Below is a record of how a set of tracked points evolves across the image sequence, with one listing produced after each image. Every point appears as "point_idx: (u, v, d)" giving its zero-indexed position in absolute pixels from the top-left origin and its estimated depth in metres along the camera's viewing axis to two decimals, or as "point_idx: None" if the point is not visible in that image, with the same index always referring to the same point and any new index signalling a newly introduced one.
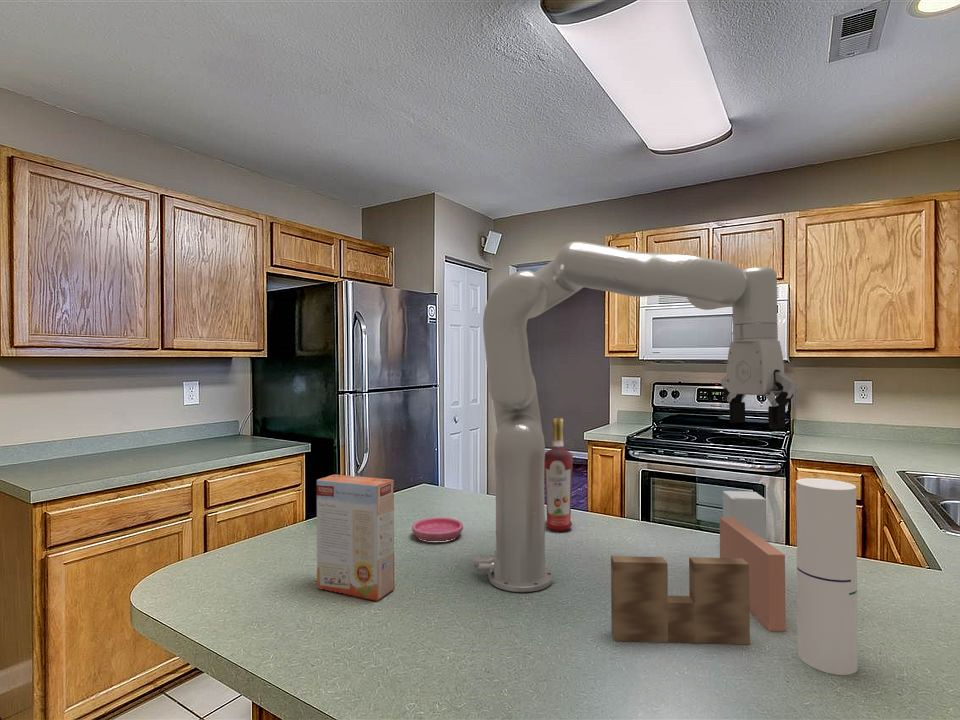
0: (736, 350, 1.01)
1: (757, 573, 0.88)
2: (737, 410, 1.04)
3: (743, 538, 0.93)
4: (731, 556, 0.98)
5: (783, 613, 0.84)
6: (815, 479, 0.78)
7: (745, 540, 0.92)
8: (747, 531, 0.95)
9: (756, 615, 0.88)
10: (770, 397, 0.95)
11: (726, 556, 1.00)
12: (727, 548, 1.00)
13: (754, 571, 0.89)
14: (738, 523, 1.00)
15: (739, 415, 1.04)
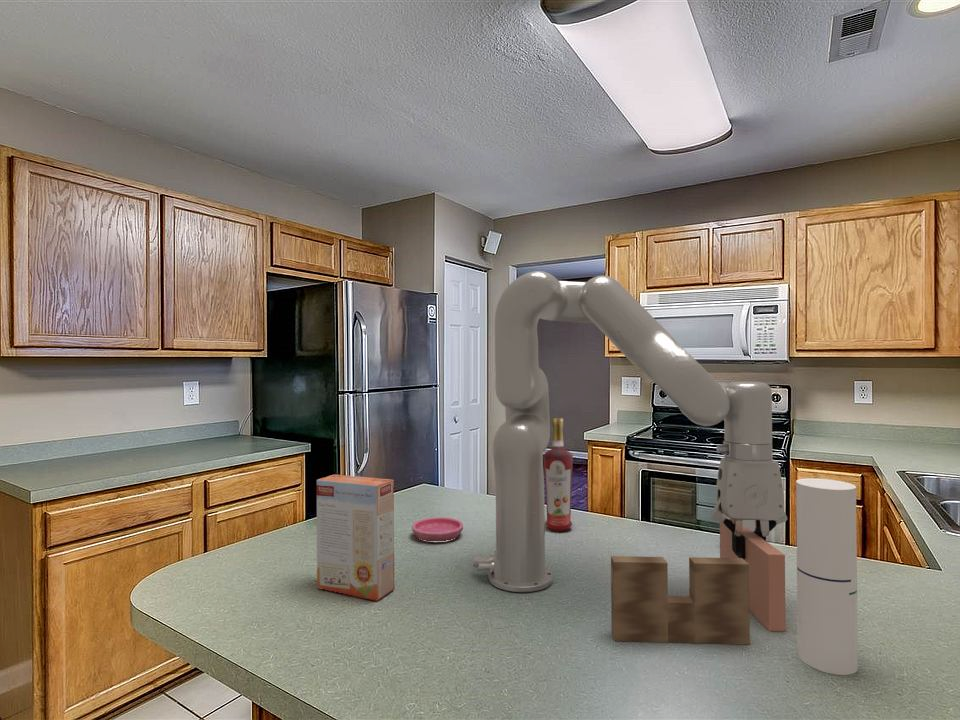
0: (744, 472, 0.91)
1: (757, 573, 0.88)
2: None
3: None
4: (731, 556, 0.98)
5: (783, 613, 0.84)
6: (815, 479, 0.78)
7: (745, 540, 0.92)
8: (747, 531, 0.95)
9: (756, 615, 0.88)
10: (765, 526, 0.92)
11: (726, 556, 1.00)
12: (727, 548, 1.00)
13: (754, 571, 0.89)
14: None
15: None
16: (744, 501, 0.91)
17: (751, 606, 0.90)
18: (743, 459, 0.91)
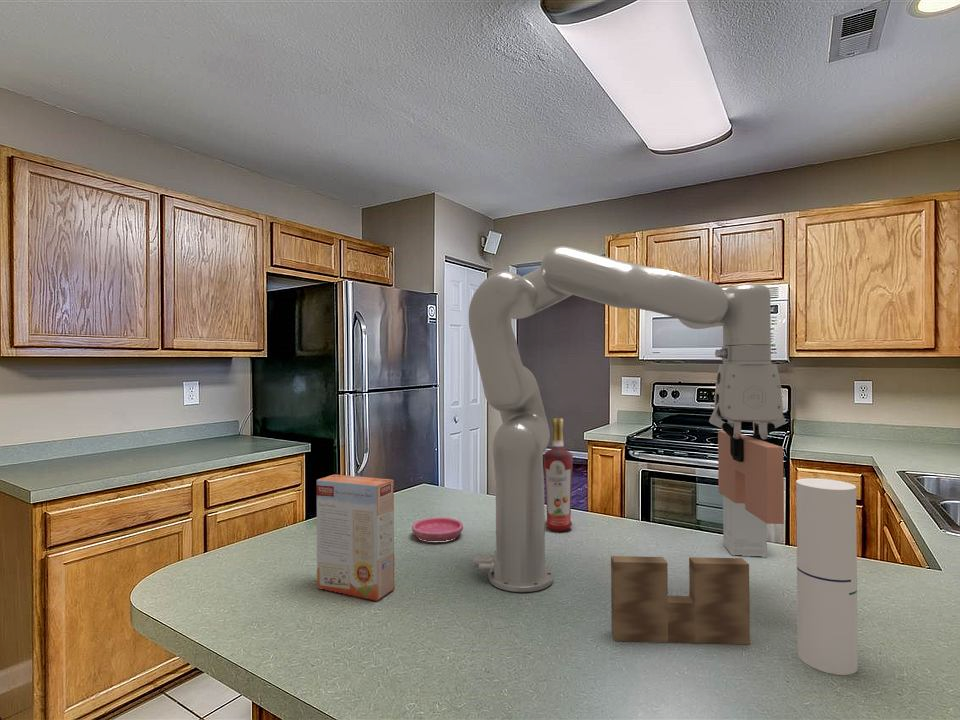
0: (743, 373, 0.91)
1: (755, 471, 0.88)
2: None
3: None
4: (729, 465, 0.98)
5: (781, 506, 0.84)
6: (815, 479, 0.78)
7: (743, 443, 0.92)
8: (745, 436, 0.95)
9: (754, 513, 0.88)
10: (764, 428, 0.92)
11: (724, 467, 1.00)
12: (725, 459, 1.00)
13: (752, 470, 0.89)
14: None
15: None
16: (742, 402, 0.91)
17: (749, 506, 0.90)
18: (742, 360, 0.91)
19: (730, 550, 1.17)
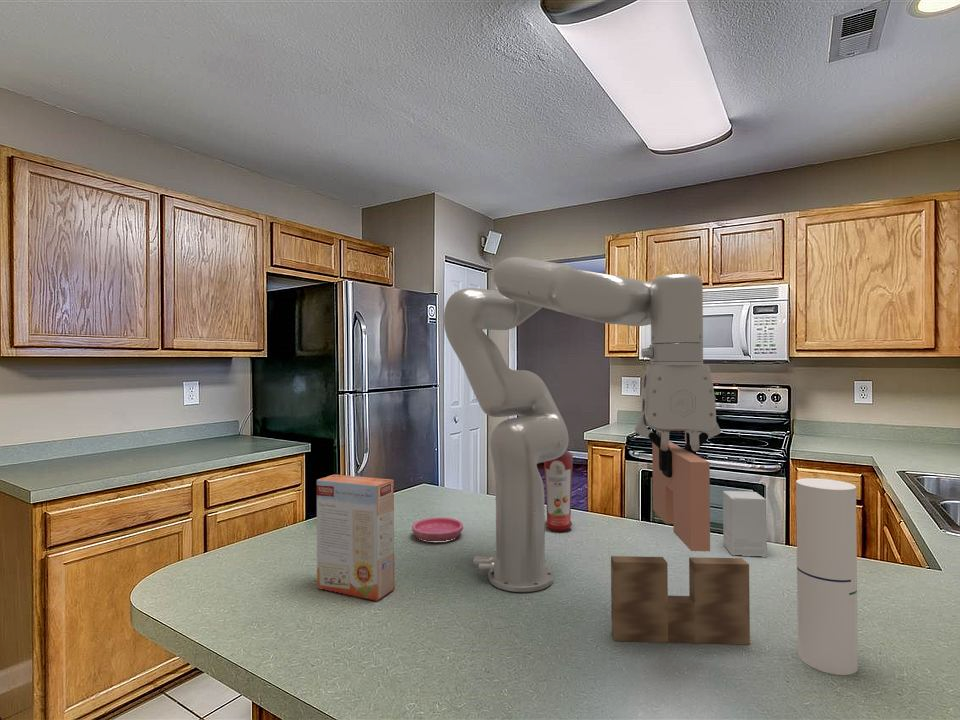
0: (670, 376, 0.79)
1: (681, 489, 0.76)
2: None
3: None
4: (661, 480, 0.86)
5: (707, 530, 0.72)
6: (815, 479, 0.78)
7: None
8: (677, 448, 0.83)
9: (681, 537, 0.76)
10: (695, 439, 0.80)
11: (657, 481, 0.89)
12: (657, 472, 0.88)
13: (679, 487, 0.77)
14: (670, 443, 0.88)
15: None
16: (670, 409, 0.79)
17: (677, 529, 0.78)
18: (668, 360, 0.79)
19: (730, 550, 1.17)
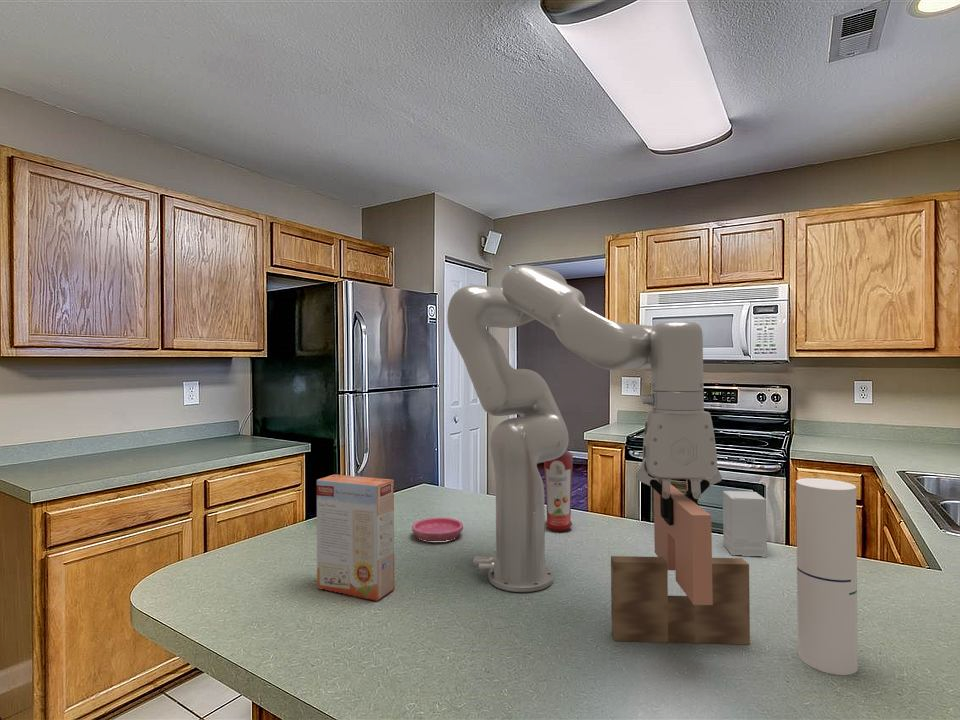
0: (670, 424, 0.79)
1: (683, 539, 0.76)
2: None
3: None
4: (663, 525, 0.86)
5: (710, 583, 0.72)
6: (815, 479, 0.78)
7: (673, 503, 0.80)
8: (678, 494, 0.83)
9: (683, 588, 0.76)
10: (697, 487, 0.80)
11: (659, 525, 0.88)
12: (659, 516, 0.88)
13: (681, 537, 0.77)
14: (671, 487, 0.88)
15: None
16: (671, 457, 0.79)
17: (679, 578, 0.78)
18: (669, 409, 0.79)
19: (730, 550, 1.17)
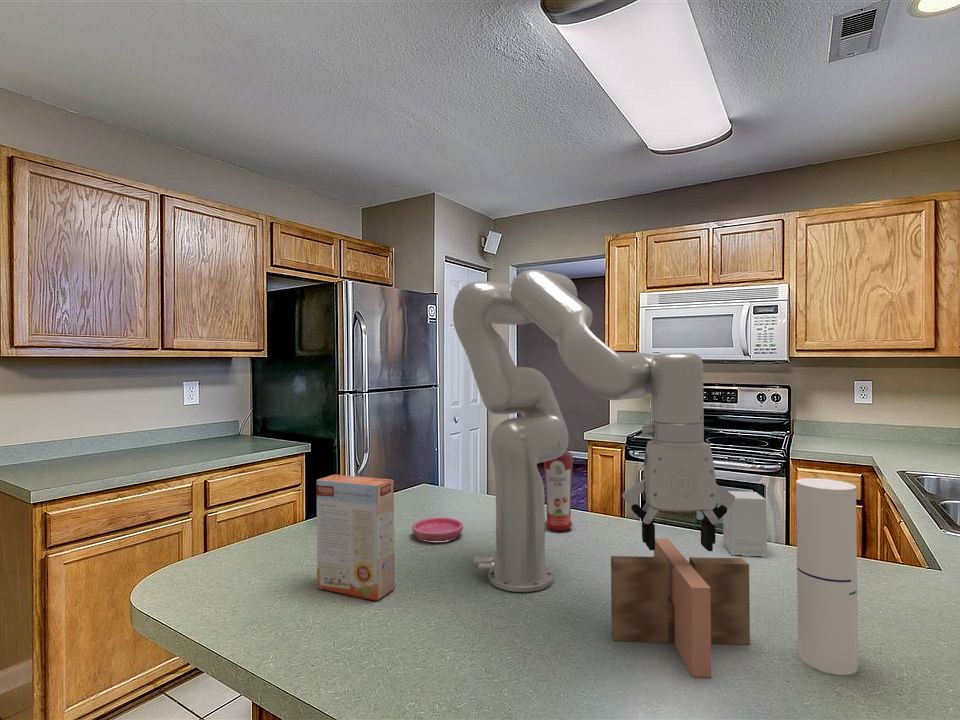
0: (670, 456, 0.79)
1: (682, 608, 0.76)
2: None
3: (672, 565, 0.81)
4: None
5: (708, 656, 0.72)
6: (815, 479, 0.78)
7: (673, 568, 0.80)
8: (678, 556, 0.83)
9: (682, 656, 0.76)
10: (710, 513, 0.80)
11: None
12: None
13: (680, 605, 0.77)
14: (671, 546, 0.88)
15: None
16: (670, 489, 0.79)
17: (678, 644, 0.78)
18: (669, 441, 0.79)
19: (730, 550, 1.17)
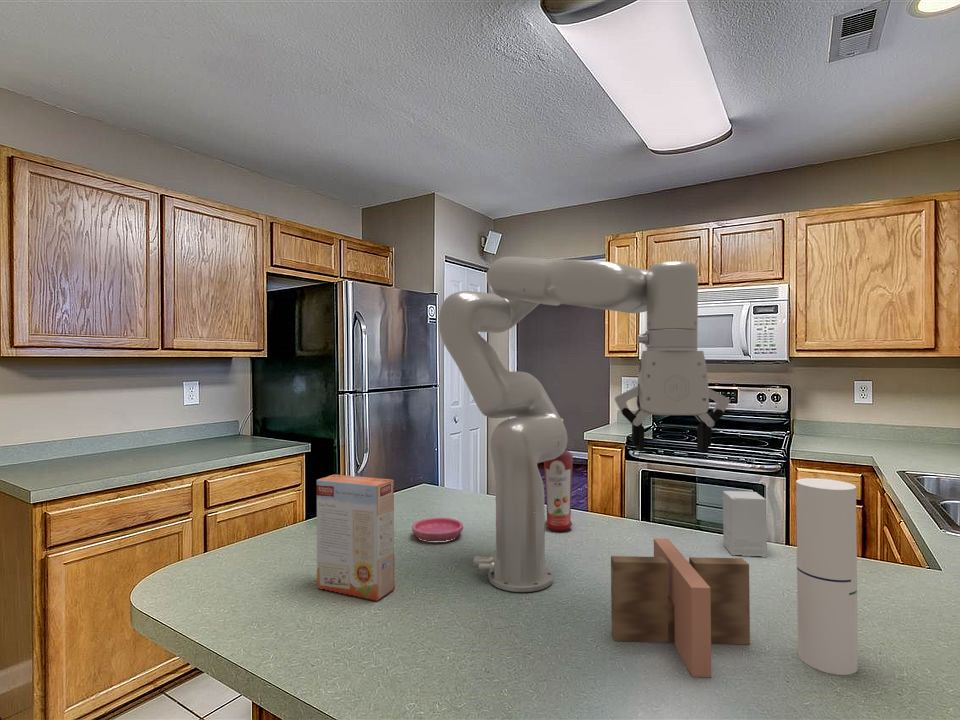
0: (664, 361, 0.81)
1: (682, 608, 0.76)
2: None
3: (672, 565, 0.81)
4: None
5: (708, 656, 0.72)
6: (815, 479, 0.78)
7: (673, 568, 0.80)
8: (678, 556, 0.83)
9: (682, 656, 0.76)
10: (705, 416, 0.82)
11: None
12: None
13: (680, 605, 0.77)
14: (671, 546, 0.88)
15: None
16: (663, 393, 0.81)
17: (678, 644, 0.78)
18: (663, 346, 0.81)
19: (730, 550, 1.17)
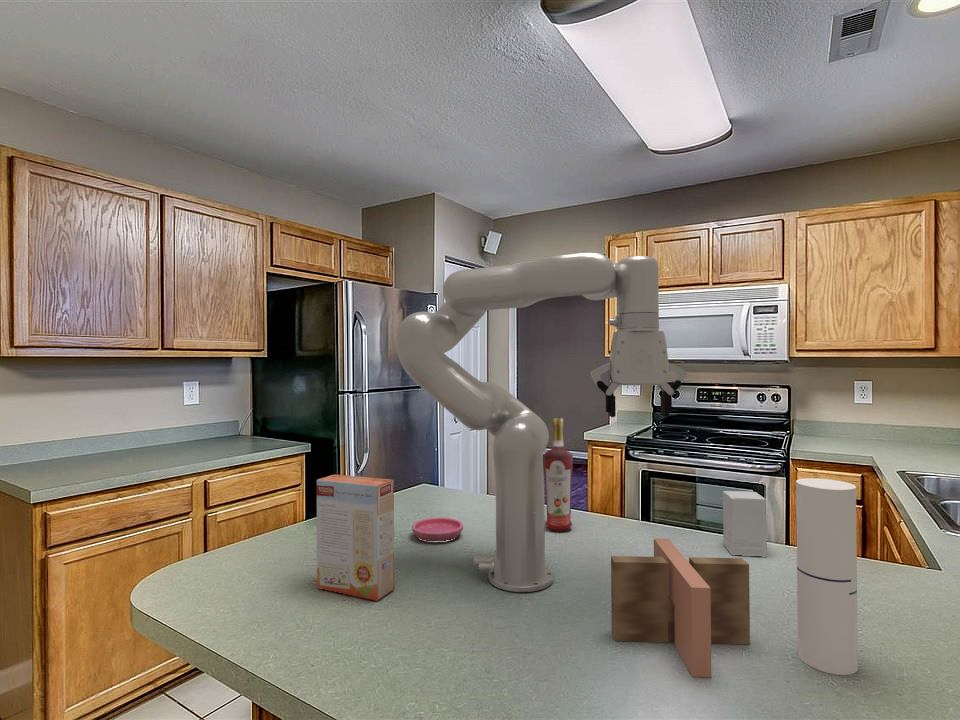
0: (631, 340, 0.96)
1: (682, 608, 0.76)
2: None
3: (672, 565, 0.81)
4: None
5: (708, 656, 0.72)
6: (815, 479, 0.78)
7: (673, 568, 0.80)
8: (678, 556, 0.83)
9: (682, 656, 0.76)
10: (666, 386, 0.97)
11: None
12: None
13: (680, 605, 0.77)
14: (671, 546, 0.88)
15: None
16: (631, 367, 0.96)
17: (678, 644, 0.78)
18: (629, 327, 0.96)
19: (730, 550, 1.17)
